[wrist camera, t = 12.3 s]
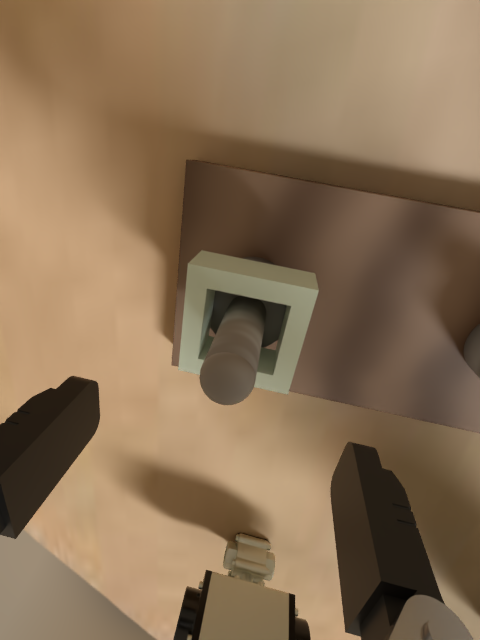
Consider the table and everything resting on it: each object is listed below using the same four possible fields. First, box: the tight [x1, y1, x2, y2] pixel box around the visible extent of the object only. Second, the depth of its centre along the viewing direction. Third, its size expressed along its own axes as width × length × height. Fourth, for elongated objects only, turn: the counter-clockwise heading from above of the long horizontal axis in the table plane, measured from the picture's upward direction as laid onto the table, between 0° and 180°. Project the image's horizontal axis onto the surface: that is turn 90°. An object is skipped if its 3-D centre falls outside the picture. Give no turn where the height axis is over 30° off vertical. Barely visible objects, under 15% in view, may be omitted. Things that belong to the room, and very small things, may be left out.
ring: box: [178, 250, 319, 395], centre depth 17 cm, size 6×6×2 cm
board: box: [172, 160, 480, 433], centre depth 16 cm, size 26×14×12 cm, turn 81°
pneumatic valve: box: [173, 533, 310, 640], centre depth 31 cm, size 6×12×12 cm, turn 79°
